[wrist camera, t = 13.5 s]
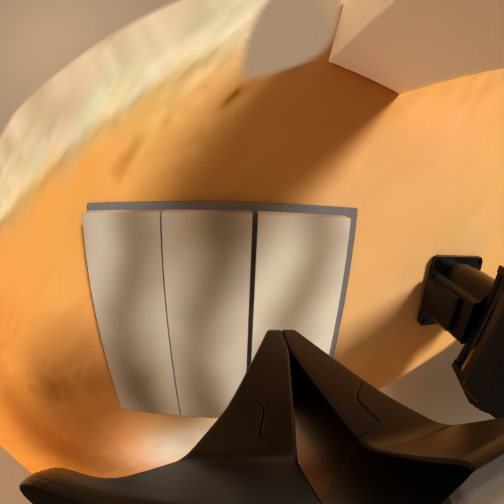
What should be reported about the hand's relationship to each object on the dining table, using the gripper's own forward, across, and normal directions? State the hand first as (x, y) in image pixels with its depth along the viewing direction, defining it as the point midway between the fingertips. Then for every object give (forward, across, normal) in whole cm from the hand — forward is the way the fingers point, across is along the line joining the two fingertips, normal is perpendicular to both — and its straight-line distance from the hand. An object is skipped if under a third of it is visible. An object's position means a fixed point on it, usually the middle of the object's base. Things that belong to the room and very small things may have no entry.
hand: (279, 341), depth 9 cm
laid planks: (+12, +6, +7) cm, 15 cm away
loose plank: (+12, -3, +7) cm, 14 cm away
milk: (+12, -8, -15) cm, 21 cm away
